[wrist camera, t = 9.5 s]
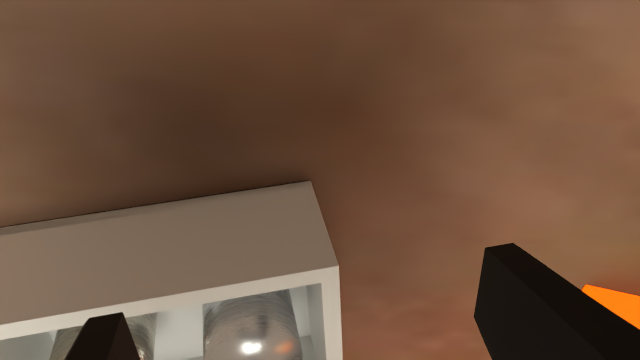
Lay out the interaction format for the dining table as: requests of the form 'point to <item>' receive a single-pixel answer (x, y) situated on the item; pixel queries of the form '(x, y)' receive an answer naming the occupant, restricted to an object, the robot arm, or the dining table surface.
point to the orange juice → (617, 303)
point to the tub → (171, 270)
